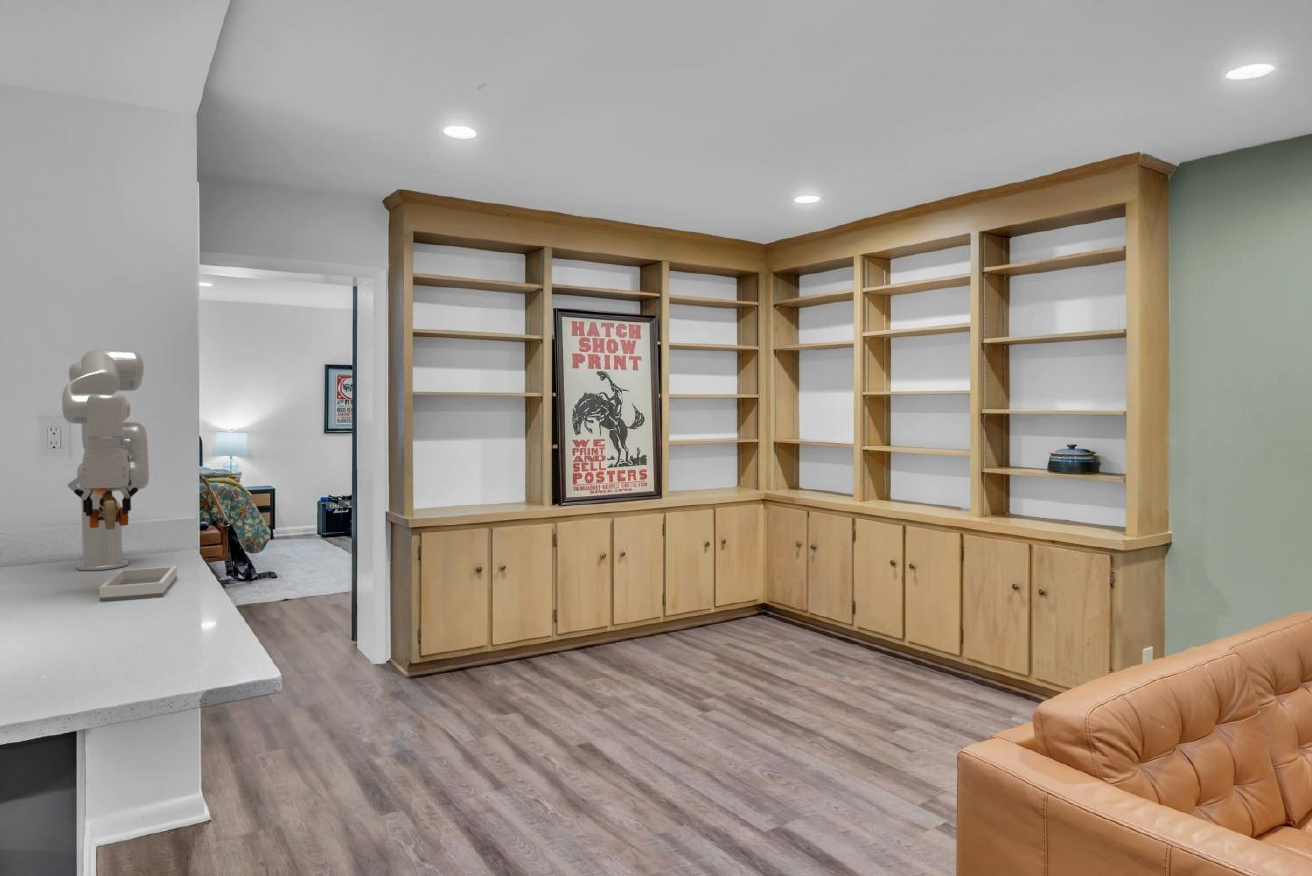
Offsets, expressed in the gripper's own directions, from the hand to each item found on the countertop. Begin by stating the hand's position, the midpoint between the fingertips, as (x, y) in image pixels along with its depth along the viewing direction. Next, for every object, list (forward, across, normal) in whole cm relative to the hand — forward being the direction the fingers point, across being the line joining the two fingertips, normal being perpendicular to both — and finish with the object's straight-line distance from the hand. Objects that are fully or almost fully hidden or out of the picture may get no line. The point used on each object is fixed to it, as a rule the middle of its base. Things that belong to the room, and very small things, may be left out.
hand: (107, 514), depth 203 cm
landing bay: (+20, -7, 0) cm, 21 cm away
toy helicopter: (+4, 0, 0) cm, 4 cm away
